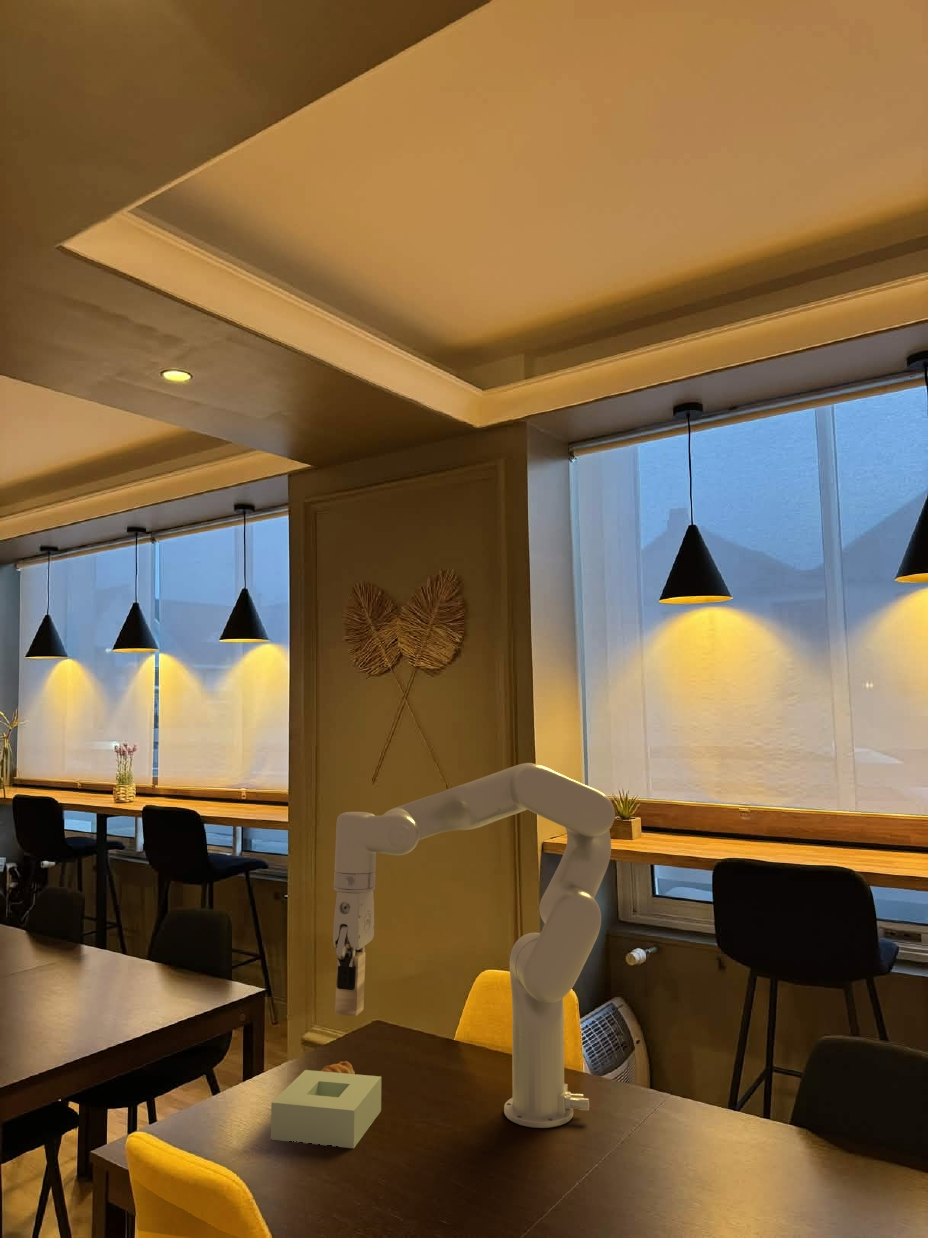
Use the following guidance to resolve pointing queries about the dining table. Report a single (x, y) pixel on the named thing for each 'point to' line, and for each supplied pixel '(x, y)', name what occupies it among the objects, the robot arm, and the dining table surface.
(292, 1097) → the well block
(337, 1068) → the pastry
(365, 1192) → the dining table surface
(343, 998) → the birch block
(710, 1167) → the dining table surface
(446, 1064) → the dining table surface
